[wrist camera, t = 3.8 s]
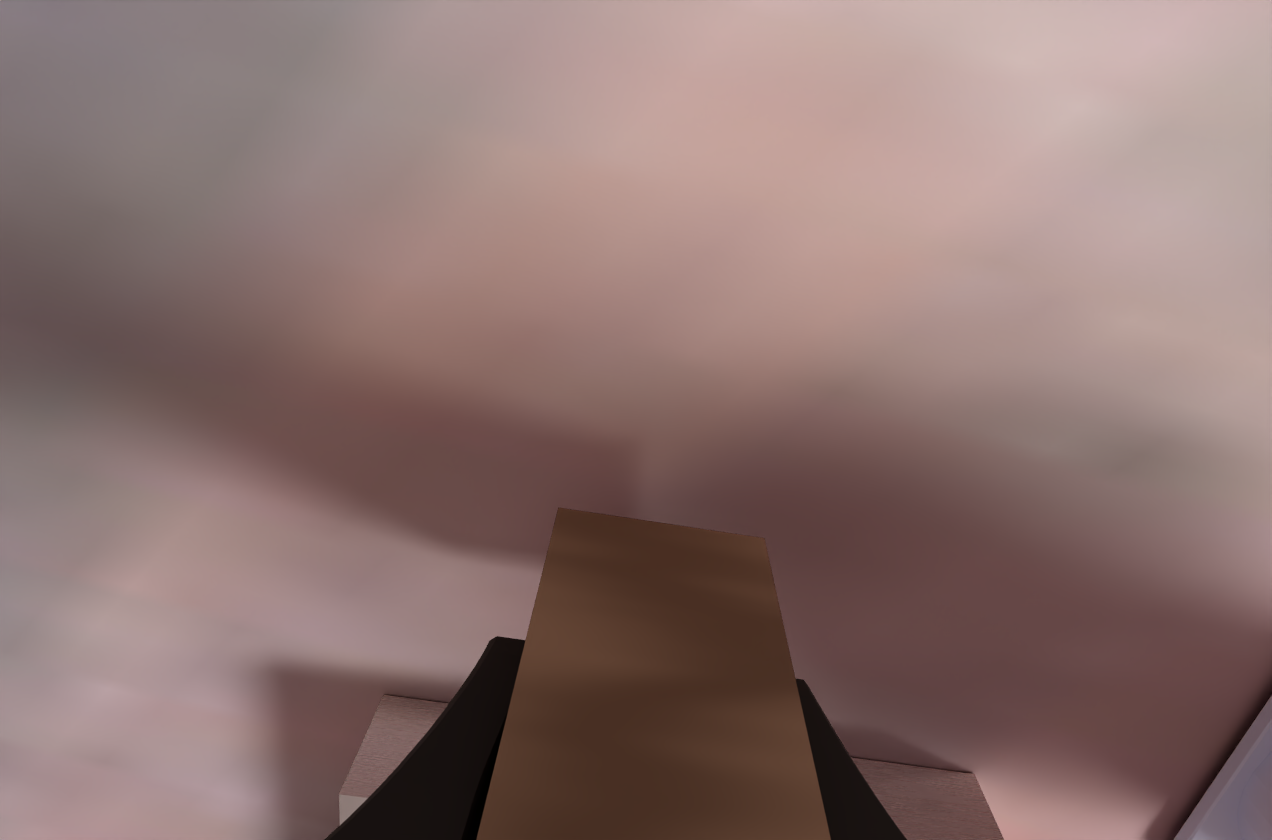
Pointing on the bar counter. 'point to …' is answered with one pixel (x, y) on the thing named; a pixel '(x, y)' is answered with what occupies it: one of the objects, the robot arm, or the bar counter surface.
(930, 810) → the collar
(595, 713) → the pin
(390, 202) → the bar counter surface
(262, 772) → the bar counter surface
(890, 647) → the bar counter surface
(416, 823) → the robot arm
